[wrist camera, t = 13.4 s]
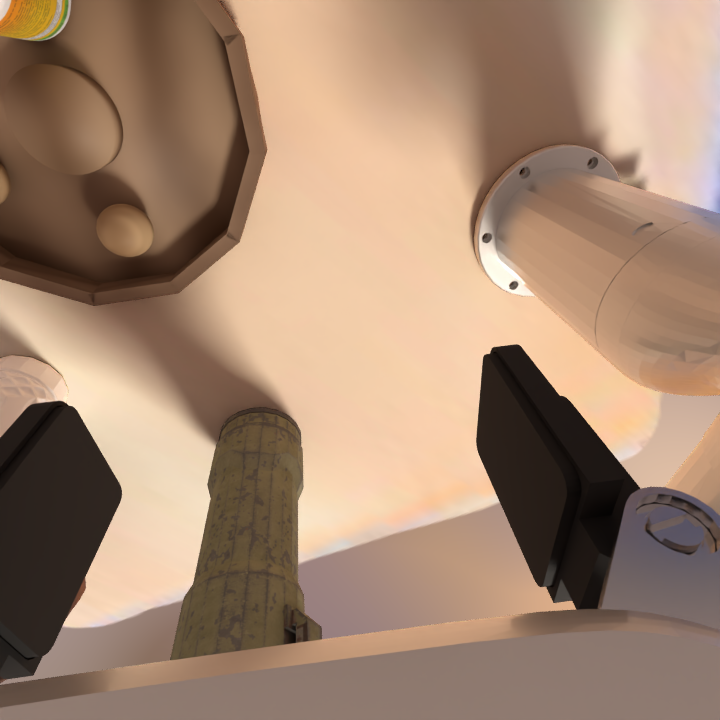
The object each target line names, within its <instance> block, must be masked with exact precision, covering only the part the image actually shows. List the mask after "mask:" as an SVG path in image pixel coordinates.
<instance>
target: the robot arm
mask: <svg viewBox="0 0 720 720" xmlns="http://www.w3.org/2000/svg"><path fill="white" fill-rule="evenodd" d="M588 161H589V162H588ZM521 169H523V171H522V173H521V174H519V173H520V170H521ZM485 233H486V235H485V237H483V235H484V234H485ZM482 237H483V238H482ZM474 245H475V253H476V256H477V259H478V262H479V265H480V267H481V268H482V270H483V272H484V273H485V275H486V276H487V277H488V278H489V279H490V280H491V281H492V282H493V283H494V284H495V285H497V286H498V287H499V288H500V289H502V290H504V291H506V292H508V293H510V294H514V295H519V296H531V297H535V296H536V297H537V298H539V299H540V300H541V301H542V302H543V303H544V304H545V305H546V306H548V307H549V308H550V309H551V310H552V311H553V312H554V313H555V314H556V315H558V316H559V317H560V318H561V319H562V320H563V321H564V322H565V323H566V324H568V325H569V326H570V327H571V328H572V329H573V330H574V331H575V332H576V333H578V334H579V335H580V336H581V337H582V338H583V339H584V340H585V341H586V342H588V343H589V344H590V345H591V346H592V347H593V348H594V349H595V350H596V351H598V352H599V353H600V354H601V355H602V356H603V357H604V358H605V359H606V360H607V361H608V362H610V363H611V364H612V365H613V366H614V367H615V368H616V369H617V370H619V371H620V372H621V373H622V374H624V375H625V376H626V377H628V378H629V379H631V380H632V381H634V382H636V383H638V384H639V385H641V386H644V387H646V388H649V389H652V390H655V391H658V392H663V393H669V394H674V395H686V396H712V395H713V396H714V395H720V214H719V213H716V212H712V211H709V210H706V209H703V208H700V207H697V206H693V205H690V204H687V203H684V202H681V201H677V200H674V199H671V198H668V197H665V196H661V195H658V194H655V193H652V192H649V191H646V190H642V189H639V188H636V187H633V186H630V185H626V184H623V183H621V182H620V179H619V176H618V173H617V172H616V170H615V168H614V167H613V165H612V164H611V162H609V161H608V160H607V159H606V158H605V157H604V156H603V155H602V154H600V153H598V152H596V151H594V150H592V149H590V148H586V147H582V146H578V145H567V144H561V145H554V146H548V147H545V148H542V149H539V150H537V151H534V152H532V153H530V154H528V155H527V156H525V157H523V158H521V159H520V160H518V161H517V162H516V163H515V164H513V165H512V166H511V167H510V168H508V169H507V170H506V171H505V172H504V173H503V174H502V175H501V176H500V178H499V179H498V180H497V181H496V182H495V183H494V185H493V186H492V188H491V189H490V191H489V192H488V194H487V195H486V197H485V199H484V201H483V204H482V206H481V208H480V210H479V213H478V217H477V221H476V225H475V234H474ZM476 443H477V450H478V453H479V456H480V458H481V460H482V463H483V465H484V467H485V469H486V472H487V474H488V476H489V478H490V481H491V483H492V485H493V487H494V490H495V492H496V494H497V496H498V499H499V501H500V503H501V505H502V508H503V510H504V512H505V514H506V517H507V519H508V521H509V523H510V526H511V528H512V530H513V532H514V535H515V537H516V539H517V542H518V544H519V546H520V548H521V550H522V553H523V555H524V557H525V559H526V562H527V564H528V566H529V569H530V571H531V573H532V575H533V578H534V580H535V582H536V583H537V584H538V586H540V587H545V586H546V587H547V590H548V592H549V594H550V596H551V598H552V600H553V603H557V602H564V601H573V603H574V605H575V607H576V609H577V610H563V611H548V612H536V613H527V614H518V615H509V616H502V617H493V618H485V619H475V620H467V621H458V622H449V623H441V624H434V625H426V626H419V627H412V628H405V629H397V630H389V631H383V632H374V633H367V634H359V635H352V636H345V637H337V638H331V639H322V640H315V641H307V642H300V643H293V644H286V645H278V646H271V647H264V648H257V649H249V650H242V651H235V652H228V653H221V654H213V655H206V656H199V657H192V658H185V659H178V660H171V661H164V662H157V663H149V664H142V665H135V666H128V667H122V668H114V669H107V670H100V671H93V672H86V673H80V674H73V675H66V676H59V677H52V678H45V679H38V680H32V681H24V682H18V683H11V684H4V685H0V720H720V413H719V414H718V416H717V417H716V419H715V420H714V421H713V423H712V424H711V426H710V427H709V428H708V430H707V431H706V432H705V434H704V436H703V439H702V440H701V441H700V443H699V444H698V445H697V446H696V448H695V449H694V450H693V451H692V453H691V454H690V455H689V457H688V458H687V459H686V460H685V461H684V463H683V464H682V466H681V467H680V468H679V469H678V470H677V472H676V473H675V474H674V475H673V477H672V478H671V479H670V480H669V482H668V483H667V484H666V485H665V487H647V488H642V489H640V487H639V486H638V485H637V484H636V482H635V481H634V480H633V479H632V477H631V476H630V475H629V474H628V472H627V471H626V470H625V469H624V467H623V466H622V465H621V464H620V462H619V461H618V460H617V459H616V458H615V456H614V455H613V454H612V453H611V451H610V450H609V449H608V448H607V446H606V445H605V444H604V443H603V441H602V440H601V439H600V438H599V436H598V435H597V434H596V433H595V431H594V430H593V429H592V428H591V427H590V425H589V424H588V423H587V422H586V420H585V419H584V418H583V417H582V415H581V414H580V413H579V412H578V410H577V409H576V408H575V407H574V405H573V404H572V403H571V402H570V401H569V400H568V399H567V398H566V397H563V396H559V394H558V393H557V392H556V390H555V389H554V388H553V387H552V385H551V384H550V383H549V382H548V380H547V379H546V378H545V377H544V375H543V374H542V373H541V371H540V370H539V369H538V368H537V366H536V365H535V364H534V363H533V361H532V360H531V359H530V357H529V356H528V355H527V354H526V352H525V351H524V350H523V349H522V347H521V346H520V345H517V344H516V345H508V346H500V347H493V348H492V350H491V353H490V354H486V355H484V357H483V366H482V378H481V390H480V402H479V414H478V426H477V438H476ZM121 497H122V490H121V486H120V484H119V482H118V480H117V479H116V477H115V475H114V474H113V472H112V470H111V468H110V467H109V465H108V463H107V462H106V460H105V458H104V456H103V455H102V453H101V451H100V450H99V448H98V446H97V444H96V443H95V441H94V439H93V438H92V436H91V434H90V432H89V431H88V429H87V427H86V426H85V424H84V422H83V420H82V419H81V417H80V415H79V414H78V412H77V410H76V409H75V408H74V407H72V406H68V405H67V403H65V402H64V401H51V402H43V403H35V404H31V405H30V406H28V407H27V408H26V409H25V410H24V411H23V413H22V414H21V415H20V416H19V417H18V418H17V419H16V420H15V422H14V423H13V424H12V425H11V426H10V427H9V428H8V429H7V431H6V432H5V433H4V434H3V435H2V436H1V437H0V676H1V677H2V678H3V679H12V678H18V677H26V676H33V675H34V673H35V671H36V669H37V667H38V665H39V663H40V661H41V658H42V656H44V655H45V654H47V653H48V652H49V651H50V650H51V648H52V646H53V645H54V643H55V641H56V638H57V636H58V634H59V632H60V630H61V628H62V626H63V623H64V621H65V619H66V617H67V615H68V613H69V611H70V608H71V606H72V604H73V602H74V600H75V598H76V596H77V593H78V591H79V589H80V587H81V585H82V583H83V581H84V578H85V576H86V574H87V572H88V570H89V568H90V566H91V563H92V561H93V559H94V557H95V555H96V553H97V551H98V548H99V546H100V544H101V542H102V540H103V538H104V536H105V533H106V531H107V529H108V527H109V525H110V523H111V521H112V518H113V516H114V514H115V512H116V510H117V508H118V506H119V503H120V501H121Z"/></svg>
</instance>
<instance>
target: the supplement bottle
mask: <svg viewBox="0 0 720 720" xmlns="http://www.w3.org/2000/svg"><path fill="white" fill-rule="evenodd" d="M70 10H71V0H0V36H5V37H11V38H17V39H23V40H30V41H43V40H47V39H50V38H52V37H54V36H56V35H57V34H59V33H60V32H61V31H62V30H63V28H64V27H65V25H66V23H67V22H68V19H69V16H70Z"/></svg>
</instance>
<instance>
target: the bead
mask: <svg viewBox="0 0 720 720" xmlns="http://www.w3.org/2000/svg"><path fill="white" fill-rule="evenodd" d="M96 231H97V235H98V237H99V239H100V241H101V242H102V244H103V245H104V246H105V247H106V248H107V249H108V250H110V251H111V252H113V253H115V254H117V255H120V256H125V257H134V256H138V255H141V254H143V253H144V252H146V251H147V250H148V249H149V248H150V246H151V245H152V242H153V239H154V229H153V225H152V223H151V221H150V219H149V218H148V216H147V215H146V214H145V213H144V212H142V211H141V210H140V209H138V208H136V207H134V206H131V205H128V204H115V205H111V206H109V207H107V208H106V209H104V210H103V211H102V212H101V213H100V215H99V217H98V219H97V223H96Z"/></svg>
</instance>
